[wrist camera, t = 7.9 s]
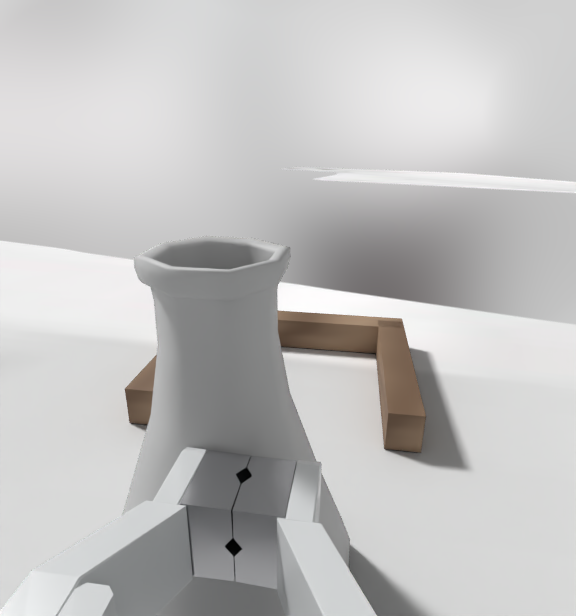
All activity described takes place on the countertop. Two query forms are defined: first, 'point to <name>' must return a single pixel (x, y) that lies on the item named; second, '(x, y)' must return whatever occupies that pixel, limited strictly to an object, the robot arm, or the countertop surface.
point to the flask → (220, 387)
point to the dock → (342, 337)
